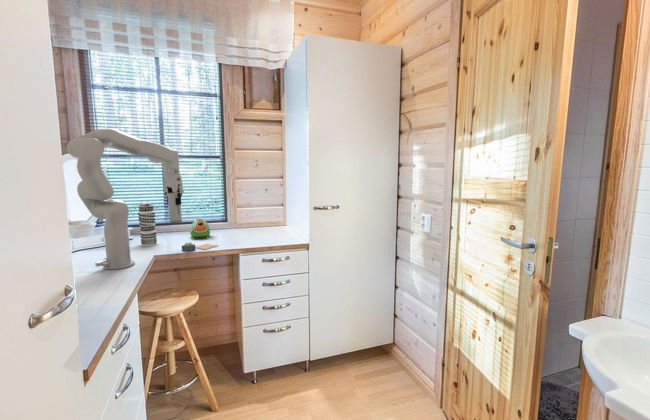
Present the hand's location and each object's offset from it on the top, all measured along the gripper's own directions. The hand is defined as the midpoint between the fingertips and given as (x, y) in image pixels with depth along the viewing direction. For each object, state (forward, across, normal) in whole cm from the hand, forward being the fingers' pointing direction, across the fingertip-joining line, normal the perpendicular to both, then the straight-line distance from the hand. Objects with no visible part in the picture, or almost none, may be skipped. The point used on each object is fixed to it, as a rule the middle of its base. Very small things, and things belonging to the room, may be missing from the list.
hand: (174, 204), depth 187 cm
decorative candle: (+26, +24, +1) cm, 35 cm away
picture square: (+26, -11, -10) cm, 30 cm away
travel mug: (+10, 0, 0) cm, 10 cm away
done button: (+23, -9, -1) cm, 25 cm away
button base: (+26, -9, 0) cm, 27 cm away
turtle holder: (+26, +14, -28) cm, 41 cm away
